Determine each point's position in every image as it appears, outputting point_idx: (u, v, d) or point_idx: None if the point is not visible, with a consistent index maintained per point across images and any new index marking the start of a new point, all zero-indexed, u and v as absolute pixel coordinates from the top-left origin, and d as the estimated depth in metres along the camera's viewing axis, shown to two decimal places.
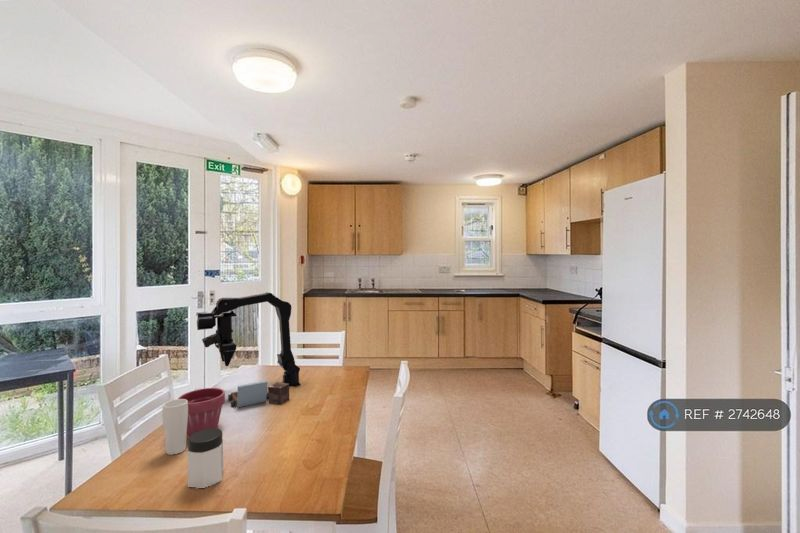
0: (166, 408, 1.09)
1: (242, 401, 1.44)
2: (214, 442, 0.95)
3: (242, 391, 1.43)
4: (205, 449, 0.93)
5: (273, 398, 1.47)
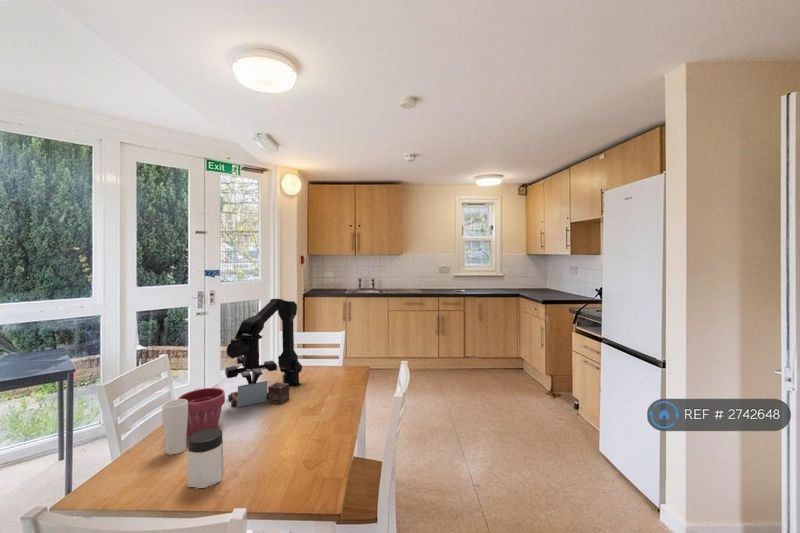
0: (166, 408, 1.09)
1: (242, 401, 1.44)
2: (214, 442, 0.95)
3: (242, 391, 1.43)
4: (205, 449, 0.93)
5: (273, 398, 1.47)
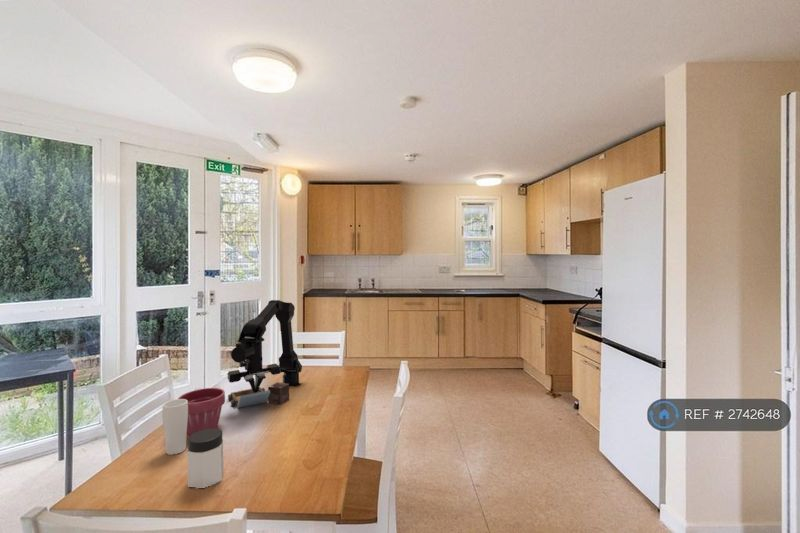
0: (166, 408, 1.09)
1: (243, 404, 1.43)
2: (214, 442, 0.95)
3: (244, 400, 1.40)
4: (205, 449, 0.93)
5: (273, 398, 1.47)
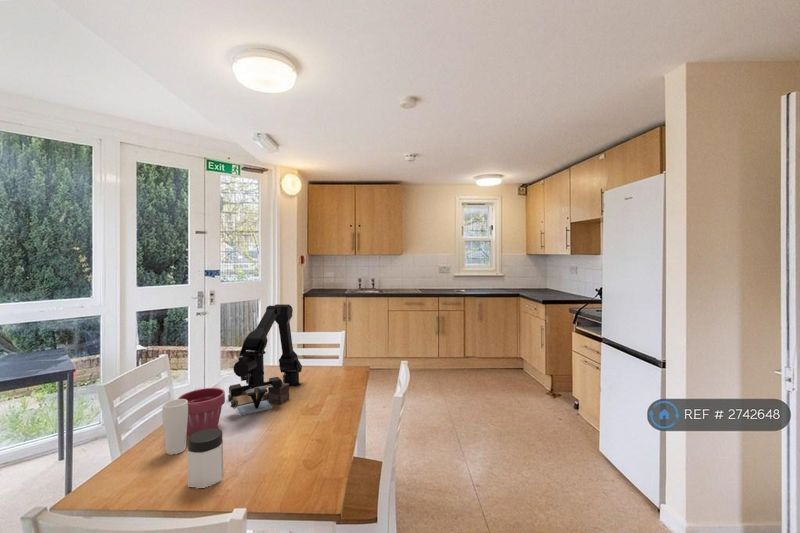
0: (166, 408, 1.09)
1: None
2: (214, 442, 0.95)
3: None
4: (205, 449, 0.93)
5: (273, 398, 1.47)
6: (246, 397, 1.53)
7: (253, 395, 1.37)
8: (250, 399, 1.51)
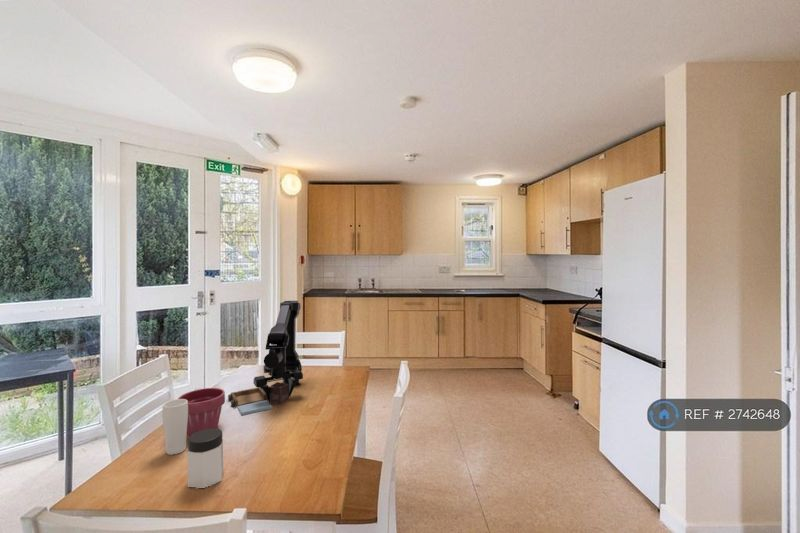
0: (166, 408, 1.09)
1: None
2: (214, 442, 0.95)
3: None
4: (205, 449, 0.93)
5: (273, 397, 1.47)
6: (246, 397, 1.53)
7: (266, 388, 1.45)
8: (250, 399, 1.51)
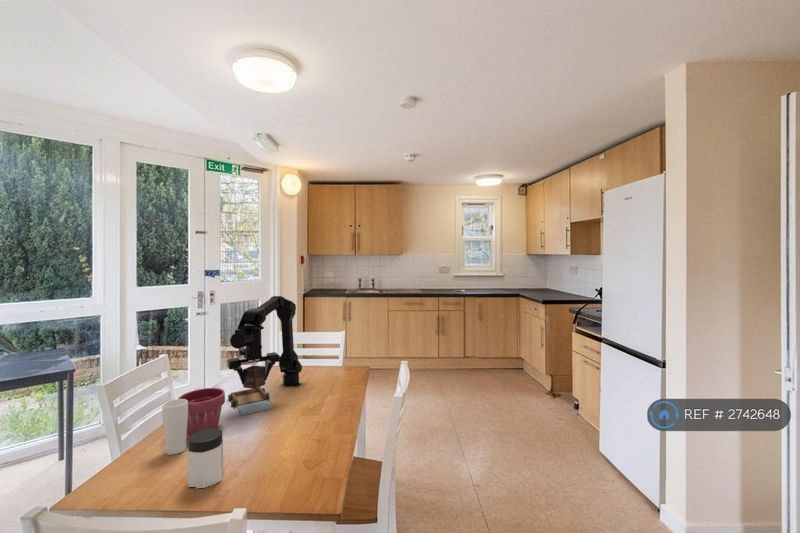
0: (166, 408, 1.09)
1: None
2: (214, 442, 0.95)
3: None
4: (205, 449, 0.93)
5: (247, 380, 1.40)
6: (246, 397, 1.53)
7: (240, 370, 1.38)
8: (250, 399, 1.51)
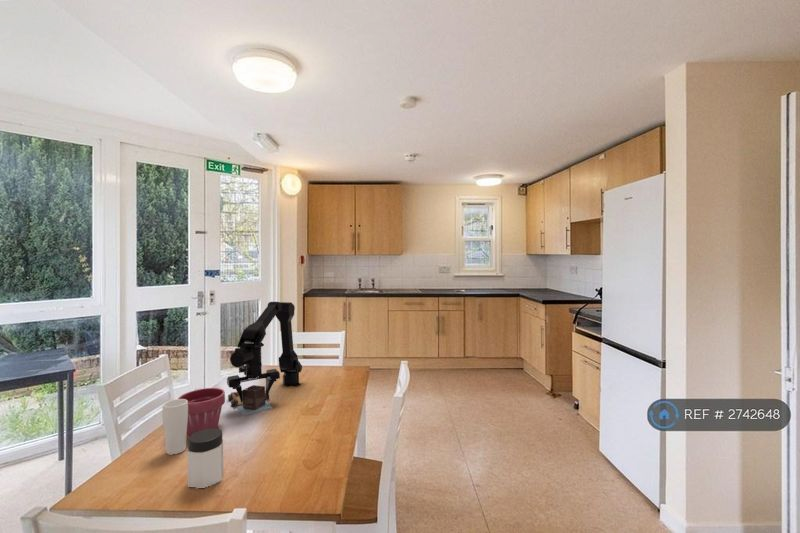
0: (166, 408, 1.09)
1: None
2: (214, 442, 0.95)
3: None
4: (205, 449, 0.93)
5: (247, 401, 1.41)
6: None
7: (238, 388, 1.38)
8: None
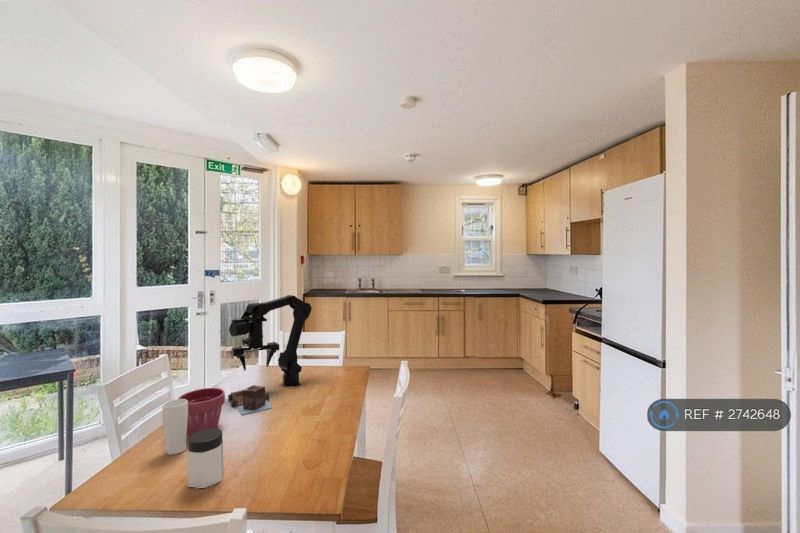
0: (166, 408, 1.09)
1: None
2: (214, 442, 0.95)
3: None
4: (205, 449, 0.93)
5: (247, 401, 1.41)
6: None
7: (242, 357, 1.52)
8: None
